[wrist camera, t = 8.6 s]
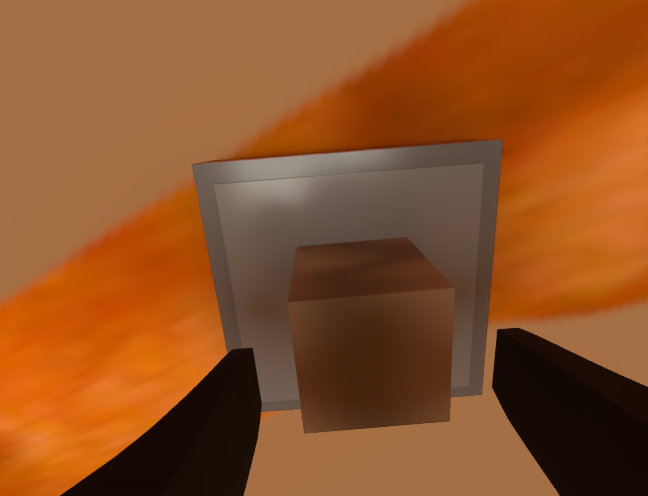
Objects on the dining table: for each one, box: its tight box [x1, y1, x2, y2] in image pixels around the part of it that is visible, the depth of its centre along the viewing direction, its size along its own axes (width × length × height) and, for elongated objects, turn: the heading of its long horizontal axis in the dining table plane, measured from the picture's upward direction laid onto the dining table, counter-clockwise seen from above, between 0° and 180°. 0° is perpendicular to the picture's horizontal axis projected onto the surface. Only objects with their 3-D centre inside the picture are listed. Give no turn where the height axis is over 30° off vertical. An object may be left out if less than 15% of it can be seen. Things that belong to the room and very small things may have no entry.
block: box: [287, 237, 455, 433], centre depth 12 cm, size 4×4×5 cm
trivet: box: [192, 140, 503, 412], centre depth 16 cm, size 12×12×3 cm
